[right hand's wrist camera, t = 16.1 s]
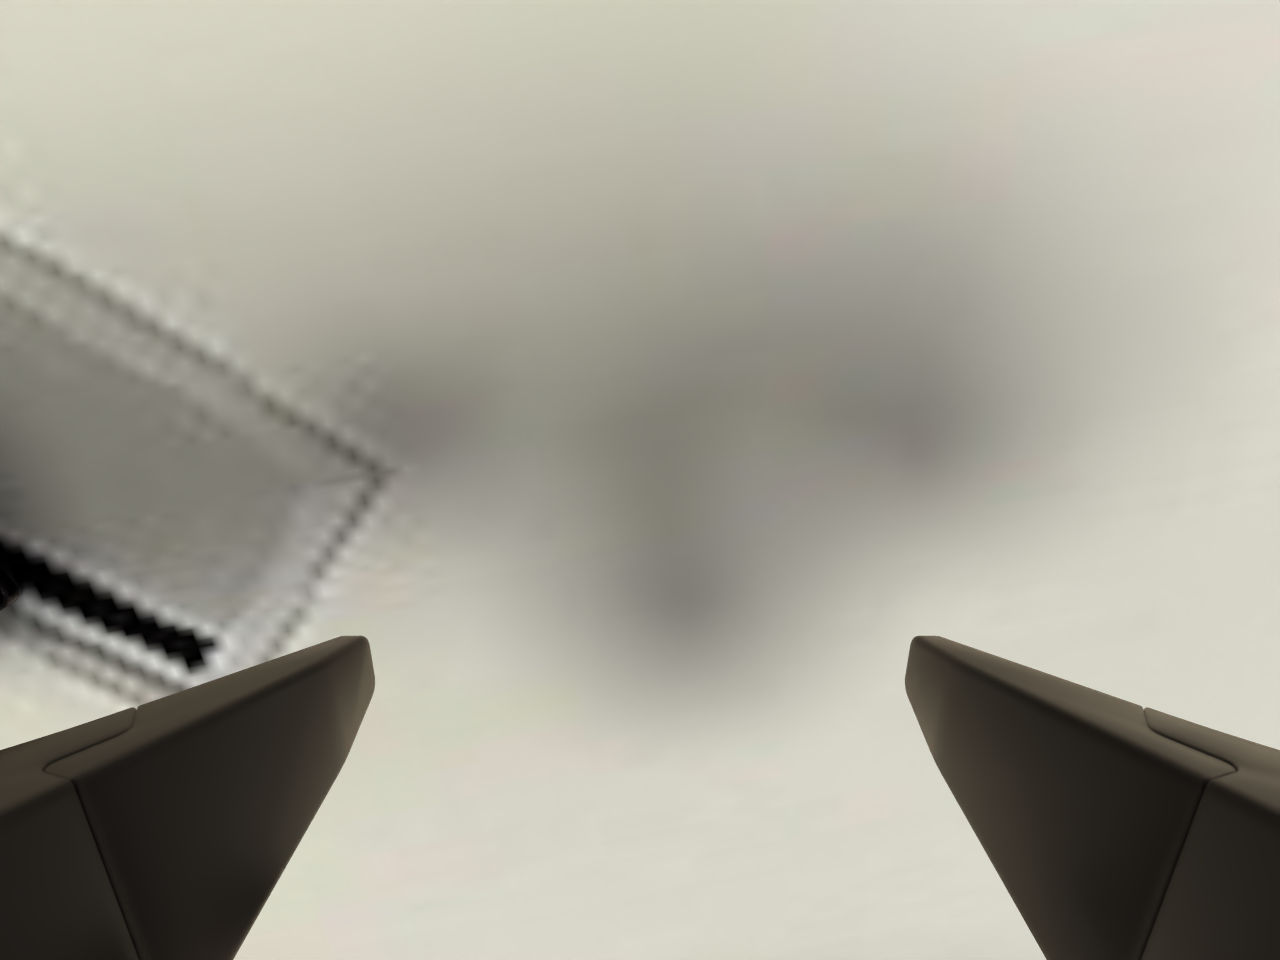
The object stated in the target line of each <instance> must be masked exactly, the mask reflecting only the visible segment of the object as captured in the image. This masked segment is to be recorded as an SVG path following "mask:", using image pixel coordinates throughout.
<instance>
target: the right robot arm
mask: <svg viewBox="0 0 1280 960" xmlns="http://www.w3.org/2000/svg"><path fill="white" fill-rule="evenodd" d="M18 595H19V592H18V588H17V587H16V585H15V583H14V582H13V581H12V580H11V579H10V578H9V576H8V575H7V574H6V573H5V572H4V571H3V570H2V569H1V567H0V610H2V609H3V608H5V607H7V606H8V605H10V604H11V603H13V602H14V601H16V600H17V598H18ZM374 687H375V675H374V669H373V663H372V657H371V651H370V645H369V642H368V640H367V638H366V637H364V636H340V637H337V638H334V639H332V640H329V641H326V642H323V643H320V644H317V645H314V646H311V647H308V648H306V649H303V650H300V651H297V652H294V653H291V654H288V655H285V656H282V657H279V658H277V659H274V660H271V661H268V662H265V663H262V664H259V665H256V666H253V667H250V668H248V669H245V670H242V671H239V672H236V673H233V674H230V675H227V676H224V677H222V678H219V679H216V680H213V681H210V682H207V683H204V684H201V685H198V686H195V687H193V688H190V689H187V690H184V691H181V692H178V693H175V694H172V695H169V696H166V697H164V698H161V699H158V700H155V701H152V702H149V703H146V704H143V705H140V706H139V707H138V708H137V710H136V709H135V708H129V709H126V710H123V711H120V712H117V713H114V714H112V715H109V716H106V717H103V718H100V719H97V720H94V721H91V722H88V723H85V724H82V725H79V726H76V727H73V728H70V729H67V730H63V731H60V732H57V733H54V734H51V735H48V736H44V737H41V738H38V739H35V740H32V741H29V742H25V743H22V744H19V745H16V746H13V747H9V748H6V749H3V750H0V960H233V959H234V957H235V956H236V954H237V952H238V950H239V948H240V947H241V945H242V943H243V941H244V940H245V938H246V936H247V934H248V933H249V931H250V929H251V927H252V926H253V924H254V922H255V920H256V919H257V917H258V915H259V913H260V911H261V910H262V908H263V906H264V904H265V903H266V901H267V899H268V897H269V896H270V894H271V892H272V890H273V889H274V887H275V885H276V883H277V881H278V880H279V878H280V876H281V874H282V873H283V871H284V869H285V867H286V866H287V864H288V862H289V860H290V859H291V857H292V855H293V853H294V851H295V850H296V848H297V846H298V844H299V843H300V841H301V839H302V837H303V836H304V834H305V832H306V830H307V829H308V827H309V825H310V823H311V822H312V820H313V818H314V816H315V814H316V813H317V811H318V809H319V807H320V806H321V804H322V802H323V800H324V799H325V797H326V795H327V793H328V792H329V790H330V788H331V786H332V784H333V783H334V781H335V779H336V777H337V776H338V774H339V772H340V770H341V768H342V766H343V764H344V763H345V760H346V758H347V756H348V754H349V752H350V749H351V747H352V744H353V742H354V739H355V737H356V735H357V732H358V730H359V727H360V725H361V722H362V720H363V718H364V715H365V713H366V710H367V708H368V705H369V703H370V701H371V698H372V696H373V692H374ZM905 687H906V692H907V696H908V698H909V701H910V703H911V705H912V708H913V710H914V713H915V715H916V718H917V720H918V722H919V725H920V727H921V730H922V732H923V735H924V737H925V739H926V742H927V744H928V747H929V749H930V752H931V754H932V756H933V758H934V760H935V763H936V764H937V766H938V768H939V770H940V772H941V774H942V776H943V777H944V779H945V781H946V783H947V784H948V786H949V788H950V790H951V792H952V793H953V795H954V797H955V799H956V800H957V802H958V804H959V806H960V807H961V809H962V811H963V813H964V814H965V816H966V818H967V820H968V822H969V823H970V825H971V827H972V829H973V830H974V832H975V834H976V836H977V837H978V839H979V841H980V843H981V844H982V846H983V848H984V850H985V851H986V853H987V855H988V857H989V859H990V860H991V862H992V864H993V866H994V867H995V869H996V871H997V873H998V874H999V876H1000V878H1001V880H1002V881H1003V883H1004V885H1005V887H1006V889H1007V890H1008V892H1009V894H1010V896H1011V897H1012V899H1013V901H1014V903H1015V904H1016V906H1017V908H1018V910H1019V911H1020V913H1021V915H1022V917H1023V918H1024V920H1025V922H1026V924H1027V926H1028V927H1029V929H1030V931H1031V933H1032V934H1033V936H1034V938H1035V940H1036V941H1037V943H1038V945H1039V947H1040V948H1041V950H1042V952H1043V954H1044V956H1045V957H1046V959H1047V960H1280V750H1277V749H1274V748H1271V747H1267V746H1264V745H1261V744H1258V743H1255V742H1251V741H1248V740H1245V739H1242V738H1239V737H1236V736H1232V735H1229V734H1226V733H1223V732H1220V731H1217V730H1213V729H1210V728H1207V727H1204V726H1201V725H1198V724H1195V723H1192V722H1189V721H1186V720H1183V719H1180V718H1177V717H1174V716H1171V715H1168V714H1166V713H1163V712H1160V711H1157V710H1154V709H1151V708H1145V709H1144V710H1143V708H1142V707H1141V706H1140V705H1137V704H1134V703H1131V702H1128V701H1125V700H1122V699H1119V698H1116V697H1114V696H1111V695H1108V694H1105V693H1102V692H1099V691H1096V690H1093V689H1090V688H1087V687H1085V686H1082V685H1079V684H1076V683H1073V682H1070V681H1067V680H1064V679H1061V678H1058V677H1056V676H1053V675H1050V674H1047V673H1044V672H1041V671H1038V670H1035V669H1032V668H1030V667H1027V666H1024V665H1021V664H1018V663H1015V662H1012V661H1009V660H1006V659H1003V658H1001V657H998V656H995V655H992V654H989V653H986V652H983V651H980V650H977V649H974V648H972V647H969V646H966V645H963V644H960V643H957V642H954V641H951V640H948V639H946V638H943V637H940V636H916V637H914V638H913V640H912V642H911V645H910V651H909V657H908V663H907V669H906V675H905Z"/></svg>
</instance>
